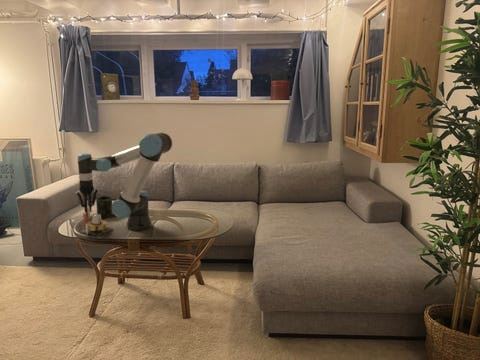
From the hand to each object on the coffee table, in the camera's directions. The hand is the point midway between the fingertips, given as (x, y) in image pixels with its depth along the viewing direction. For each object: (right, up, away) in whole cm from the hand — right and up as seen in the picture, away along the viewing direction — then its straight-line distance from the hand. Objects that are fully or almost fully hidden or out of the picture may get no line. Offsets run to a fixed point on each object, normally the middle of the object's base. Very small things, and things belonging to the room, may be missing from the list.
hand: (88, 217), depth 227 cm
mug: (0, -2, +27) cm, 27 cm away
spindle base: (+7, -8, -4) cm, 11 cm away
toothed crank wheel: (+5, -6, -3) cm, 9 cm away
